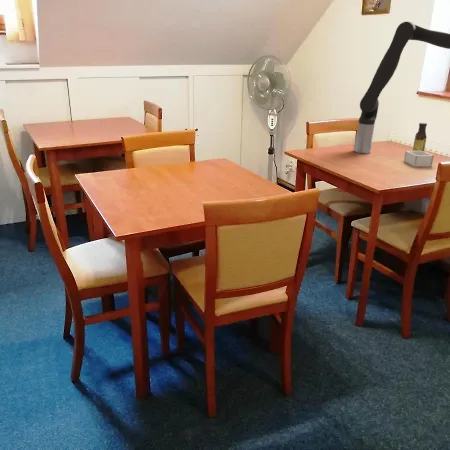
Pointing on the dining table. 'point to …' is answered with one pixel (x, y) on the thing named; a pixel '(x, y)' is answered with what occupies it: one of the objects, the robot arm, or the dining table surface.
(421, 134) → the sauce bottle
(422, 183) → the dining table surface
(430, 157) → the bottle holder
